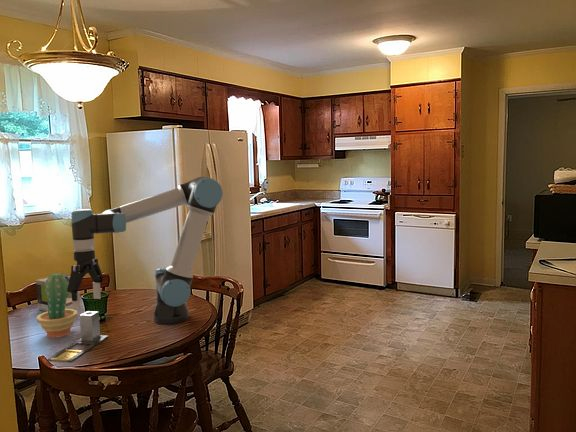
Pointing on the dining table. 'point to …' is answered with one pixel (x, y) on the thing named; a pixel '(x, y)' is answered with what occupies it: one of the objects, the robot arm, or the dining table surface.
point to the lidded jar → (69, 303)
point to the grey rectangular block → (90, 326)
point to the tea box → (43, 295)
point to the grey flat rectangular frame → (74, 354)
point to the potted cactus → (57, 307)
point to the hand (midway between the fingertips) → (87, 303)
